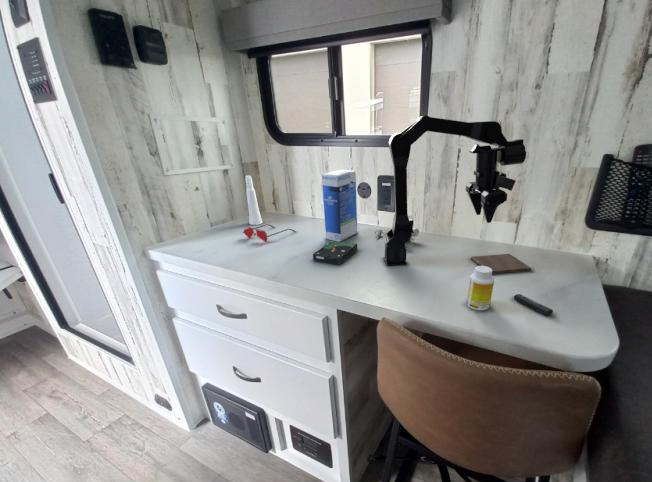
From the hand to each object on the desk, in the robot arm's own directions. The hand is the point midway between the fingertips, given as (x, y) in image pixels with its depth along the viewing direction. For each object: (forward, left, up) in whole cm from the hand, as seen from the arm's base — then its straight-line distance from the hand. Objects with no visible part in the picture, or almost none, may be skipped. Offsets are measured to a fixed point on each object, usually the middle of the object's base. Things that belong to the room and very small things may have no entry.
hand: (483, 218), depth 98 cm
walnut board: (+5, -5, -15) cm, 16 cm away
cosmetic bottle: (-82, +61, -15) cm, 103 cm away
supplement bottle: (-14, -27, -15) cm, 34 cm away
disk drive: (-47, +13, -15) cm, 51 cm away
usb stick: (-1, -30, -15) cm, 33 cm away
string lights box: (-43, +34, -15) cm, 57 cm away
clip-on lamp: (-23, +24, -15) cm, 36 cm away
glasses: (-73, +41, -15) cm, 85 cm away
